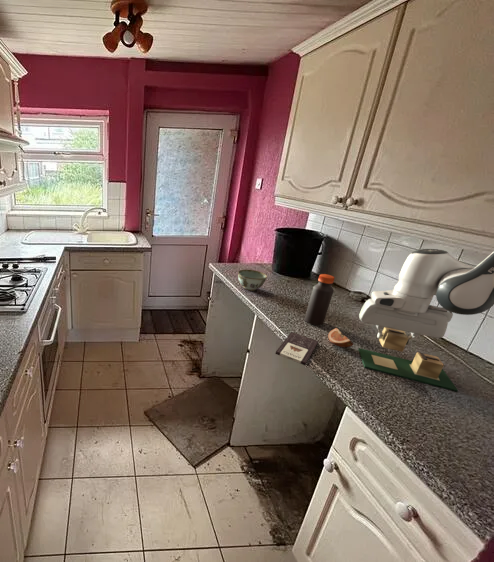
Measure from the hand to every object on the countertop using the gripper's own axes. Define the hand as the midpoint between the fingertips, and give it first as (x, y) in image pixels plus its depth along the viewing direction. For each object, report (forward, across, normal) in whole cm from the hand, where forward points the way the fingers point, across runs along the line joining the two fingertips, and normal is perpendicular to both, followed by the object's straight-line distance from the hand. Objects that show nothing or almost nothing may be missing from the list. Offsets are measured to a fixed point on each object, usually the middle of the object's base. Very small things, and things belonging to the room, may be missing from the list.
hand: (392, 340), depth 98 cm
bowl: (+9, +46, -45) cm, 65 cm away
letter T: (+8, -10, 0) cm, 13 cm away
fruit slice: (+9, +12, -5) cm, 16 cm away
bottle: (+9, +19, -21) cm, 29 cm away
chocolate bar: (+9, +25, +5) cm, 27 cm away
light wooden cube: (+2, 0, 0) cm, 2 cm away
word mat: (+9, -5, 0) cm, 10 cm away
